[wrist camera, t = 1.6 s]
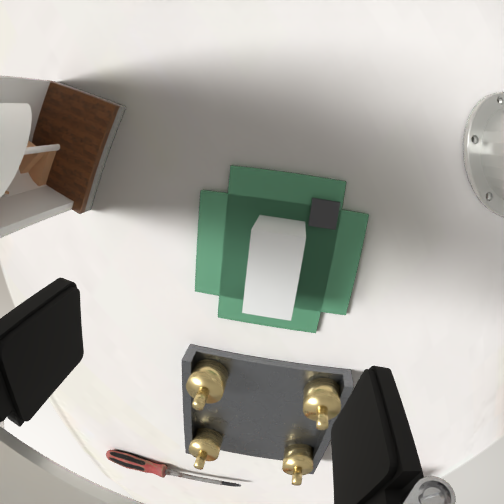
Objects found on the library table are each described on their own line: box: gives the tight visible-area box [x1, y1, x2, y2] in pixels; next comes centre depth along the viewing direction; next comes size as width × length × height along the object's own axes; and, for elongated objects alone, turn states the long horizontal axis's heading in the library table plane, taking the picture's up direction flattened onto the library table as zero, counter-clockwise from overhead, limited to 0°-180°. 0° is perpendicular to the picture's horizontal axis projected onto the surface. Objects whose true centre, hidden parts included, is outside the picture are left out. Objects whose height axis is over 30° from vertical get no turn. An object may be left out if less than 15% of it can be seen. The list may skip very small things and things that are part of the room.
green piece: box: [195, 165, 369, 333], centre depth 27 cm, size 15×15×6 cm
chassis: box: [182, 344, 354, 485], centre depth 33 cm, size 18×18×6 cm
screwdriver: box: [106, 450, 241, 486], centre depth 43 cm, size 25×3×3 cm, turn 90°
